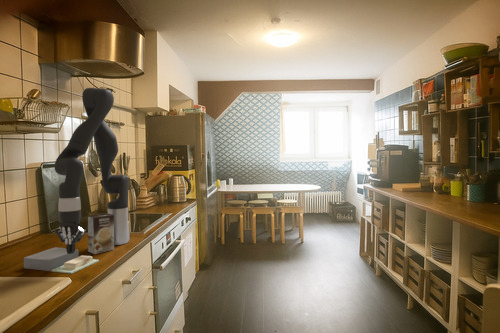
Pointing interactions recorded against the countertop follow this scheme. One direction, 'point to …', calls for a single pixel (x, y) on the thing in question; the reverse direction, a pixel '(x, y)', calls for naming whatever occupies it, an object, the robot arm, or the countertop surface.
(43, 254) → the grey flat block
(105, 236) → the coffee box
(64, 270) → the mat
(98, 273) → the countertop surface
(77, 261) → the tile
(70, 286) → the countertop surface
